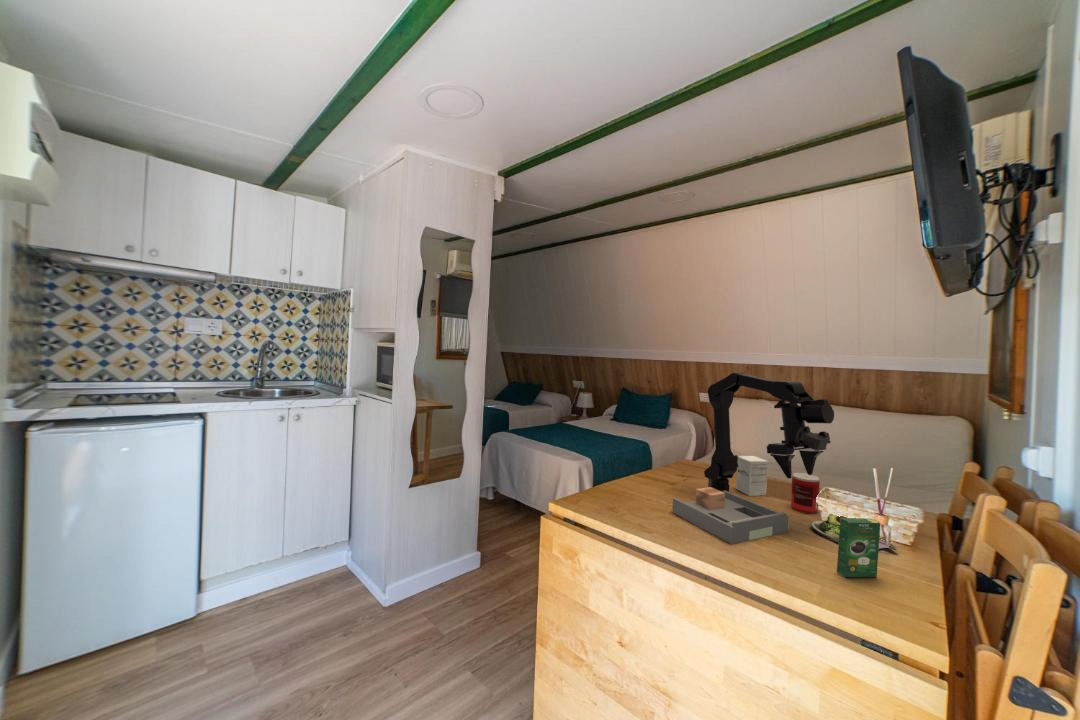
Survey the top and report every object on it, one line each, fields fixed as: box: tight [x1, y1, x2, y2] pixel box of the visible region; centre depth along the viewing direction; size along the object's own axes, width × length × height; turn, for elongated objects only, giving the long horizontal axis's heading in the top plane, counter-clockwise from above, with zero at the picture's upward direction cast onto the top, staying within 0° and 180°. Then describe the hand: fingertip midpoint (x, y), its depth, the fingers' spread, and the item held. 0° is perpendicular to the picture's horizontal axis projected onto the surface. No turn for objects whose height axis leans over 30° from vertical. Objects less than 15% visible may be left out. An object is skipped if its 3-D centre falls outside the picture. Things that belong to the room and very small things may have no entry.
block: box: [695, 486, 725, 510], centre depth 134 cm, size 6×6×4 cm
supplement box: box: [735, 455, 769, 497], centre depth 155 cm, size 7×7×13 cm
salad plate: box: [810, 513, 899, 551], centre depth 119 cm, size 19×18×5 cm
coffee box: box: [836, 517, 881, 579], centre depth 99 cm, size 8×3×13 cm, turn 93°
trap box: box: [671, 490, 790, 545], centre depth 128 cm, size 23×22×6 cm
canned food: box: [790, 472, 821, 514], centre depth 139 cm, size 8×8×11 cm
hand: (799, 476), depth 125 cm, fingers open, 9 cm apart
